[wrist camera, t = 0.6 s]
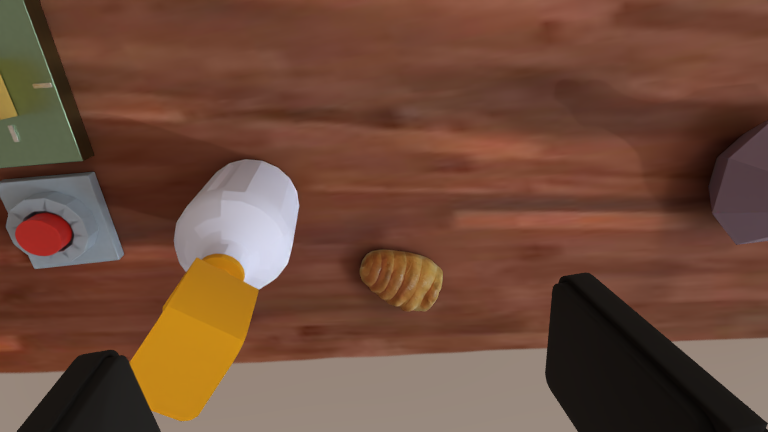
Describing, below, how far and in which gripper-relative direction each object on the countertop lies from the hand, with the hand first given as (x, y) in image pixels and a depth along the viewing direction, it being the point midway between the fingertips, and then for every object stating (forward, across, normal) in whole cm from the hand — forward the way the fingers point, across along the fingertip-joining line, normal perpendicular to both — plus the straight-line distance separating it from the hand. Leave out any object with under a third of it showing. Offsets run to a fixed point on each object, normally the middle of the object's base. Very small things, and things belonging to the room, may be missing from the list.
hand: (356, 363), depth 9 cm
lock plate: (+33, +27, -6) cm, 43 cm away
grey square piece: (+33, +27, +6) cm, 43 cm away
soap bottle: (+33, +9, +7) cm, 35 cm away
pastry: (+33, -5, +19) cm, 38 cm away
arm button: (+30, +27, +6) cm, 41 cm away
